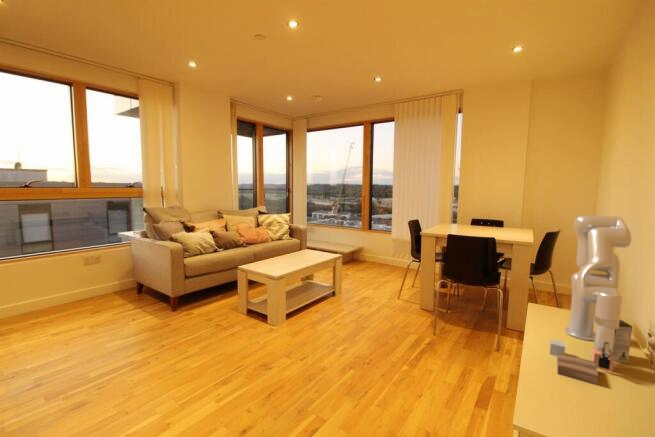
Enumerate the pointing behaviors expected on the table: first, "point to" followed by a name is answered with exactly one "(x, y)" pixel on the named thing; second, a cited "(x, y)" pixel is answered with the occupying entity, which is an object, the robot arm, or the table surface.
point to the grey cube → (557, 347)
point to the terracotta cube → (596, 359)
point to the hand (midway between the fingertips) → (602, 362)
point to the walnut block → (577, 368)
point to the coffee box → (622, 342)
